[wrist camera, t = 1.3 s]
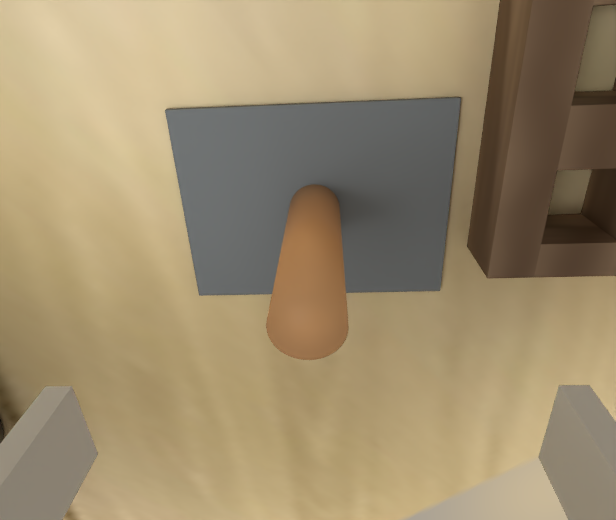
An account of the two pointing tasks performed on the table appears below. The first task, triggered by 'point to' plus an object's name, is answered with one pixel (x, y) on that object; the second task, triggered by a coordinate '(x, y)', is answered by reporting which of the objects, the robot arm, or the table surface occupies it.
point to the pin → (310, 279)
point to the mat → (321, 171)
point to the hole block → (543, 149)
